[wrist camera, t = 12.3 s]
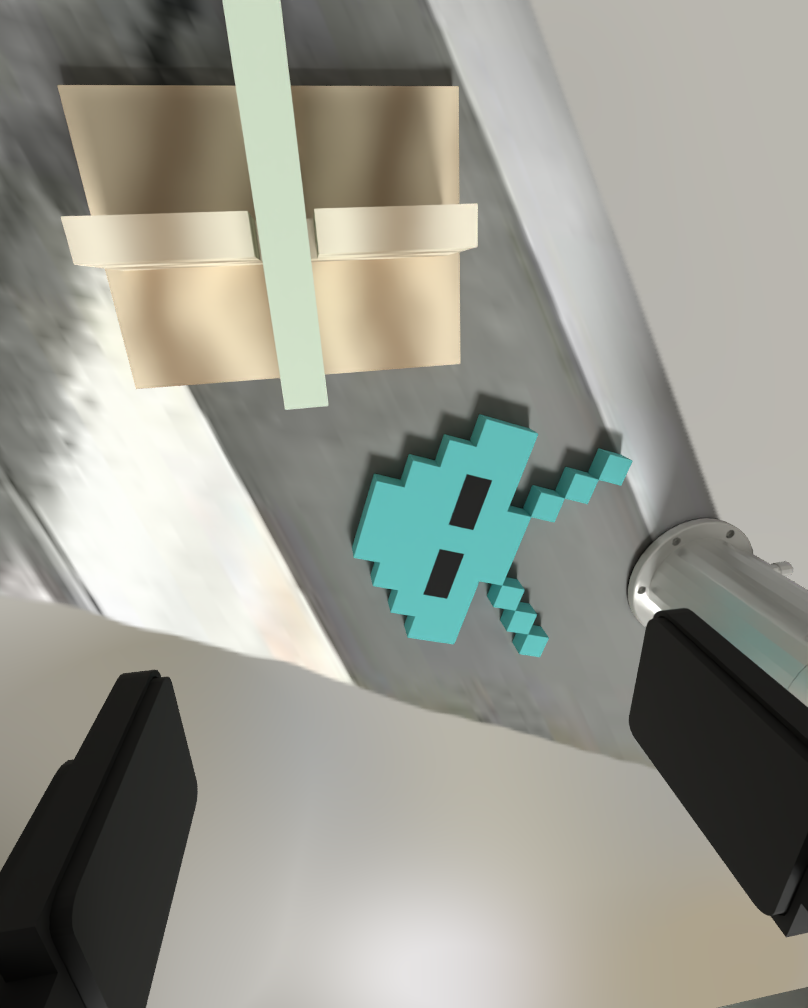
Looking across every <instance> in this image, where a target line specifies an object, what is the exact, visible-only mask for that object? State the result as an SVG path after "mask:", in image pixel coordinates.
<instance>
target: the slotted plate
mask: <svg viewBox="0 0 808 1008" xmlns="http://www.w3.org/2000/svg"><path fill="white" fill-rule="evenodd" d="M223 7H224V13H225V20H226V26H227V33H228V40H229V46H230V53H231V59H232V66H233V72H234V79H235V85H236V92H237V98H238V105H239V111H240V118H241V124H242V131H243V137H244V144H245V150H246V157H247V163H248V170H249V176H250V183H251V190H252V196H253V203H254V209H255V216H256V222H257V229H258V235H259V242H260V248H261V255H262V261H263V268H264V274H265V281H266V287H267V294H268V300H269V307H270V313H271V320H272V326H273V333H274V340H275V346H276V353H277V359H278V366H279V372H280V379H281V385H282V392H283V398H284V405H285V410H289V409H299V408H310V407H321V406H328V398H327V390H326V381H325V373H324V364H323V356H322V348H321V339H320V331H319V322H318V314H317V305H316V297H315V289H314V280H313V272H312V263H311V255H310V246H309V238H308V230H307V221H306V213H305V204H304V196H303V187H302V179H301V171H300V162H299V154H298V145H297V137H296V128H295V120H294V112H293V103H292V95H291V86H290V78H289V69H288V61H287V53H286V44H285V36H284V27H283V19H282V10H281V2H280V0H223Z"/></svg>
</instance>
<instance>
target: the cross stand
mask: <svg viewBox="0 0 808 1008" xmlns="http://www.w3.org/2000/svg"><path fill="white" fill-rule="evenodd" d="M57 86H58V90H59V93H60V97H61V101H62V105H63V109H64V113H65V117H66V120H67V124H68V128H69V132H70V136H71V140H72V144H73V147H74V151H75V155H76V159H77V163H78V167H79V171H80V174H81V178H82V182H83V186H84V190H85V194H86V198H87V201H88V205H89V209H90V213H91V216H64V217H61V219H62V223H63V226H64V230H65V234H66V237H67V241H68V244H69V248H70V251H71V255H72V259H73V262H74V265H82V266H89V267H97V268H105V271H106V275H107V279H108V282H109V286H110V290H111V294H112V298H113V302H114V306H115V309H116V313H117V317H118V321H119V325H120V329H121V333H122V336H123V340H124V344H125V348H126V352H127V356H128V360H129V363H130V367H131V371H132V375H133V379H134V383H135V387H136V389H142V388H155V387H168V386H181V385H194V384H207V383H219V382H232V381H245V380H258V379H271V378H280V372H279V366H278V359H277V353H276V346H275V340H274V333H273V326H272V320H271V313H270V307H269V300H268V294H267V287H266V281H265V274H264V268H263V261H262V255H261V248H260V242H259V235H258V229H257V222H256V216H255V209H254V203H253V196H252V190H251V183H250V176H249V170H248V163H247V157H246V150H245V144H244V137H243V131H242V124H241V118H240V111H239V105H238V98H237V92H236V86H191V85H57ZM291 95H292V103H293V112H294V120H295V128H296V137H297V145H298V154H299V162H300V171H301V179H302V187H303V196H304V204H305V213H306V221H307V230H308V238H309V246H310V255H311V263H312V272H313V280H314V289H315V297H316V305H317V314H318V322H319V331H320V339H321V348H322V356H323V364H324V373H325V374H336V373H348V372H361V371H374V370H387V369H400V368H413V367H426V366H439V365H452V364H460V252H461V251H465V250H468V249H472V248H475V247H477V239H478V204H459V86H291Z"/></svg>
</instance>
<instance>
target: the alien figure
mask: <svg viewBox="0 0 808 1008" xmlns="http://www.w3.org/2000/svg"><path fill="white" fill-rule="evenodd" d="M537 436H538V433H536V432H534V431H533V430H531V429H529V428H526V427H523V426H519V425H516V424H512V423H509V422H505V421H502V420H498V419H495V418H491V417H488V416H484V415H481V414H479V416H478V419H477V422H476V425H475V428H474V430H473V433H472V436H471V439H470V441H468V440H464V439H461V438H457V437H453V436H450V435H446V434H444V435H443V438H442V441H441V444H440V447H439V450H438V453H437V456H436V459H435V460H431V459H427V458H424V457H420V456H416V455H412V454H409V455H408V458H407V461H406V465H405V468H404V471H403V474H402V477H401V480H399V479H395V478H391V477H387V476H382V475H378V474H374V475H373V479H372V482H371V485H370V489H369V492H368V496H367V499H366V502H365V506H364V509H363V512H362V516H361V519H360V522H359V526H358V529H357V533H356V536H355V539H354V543H353V546H352V550H353V556H354V558H358V559H364V560H369V561H374V566H373V569H372V572H371V580H372V584H373V586H376V587H382V588H388V589H392V590H391V593H390V596H389V599H388V604H389V607H390V611H391V613H397V614H403V615H408V616H407V619H406V622H405V624H404V627H405V630H406V633H407V637H408V638H415V639H421V640H428V641H435V642H442V643H448V644H454V643H455V641H456V638H457V636H458V633H459V631H460V628H461V626H462V623H463V621H464V618H465V616H466V613H467V611H468V608H469V606H470V603H471V601H472V598H473V596H474V593H475V591H476V588H477V586H478V583H479V581H481V582H486V583H491V584H492V585H491V587H490V590H489V592H488V595H487V597H488V599H489V600H490V602H491V604H492V605H493V607H497V608H503V609H504V611H503V614H502V616H501V618H500V621H501V622H502V624H503V626H504V627H505V629H506V631H509V632H515V633H516V635H515V637H514V639H513V644H514V646H515V648H516V649H517V651H518V653H519V654H523V655H529V656H536V657H540V656H541V654H542V652H543V649H544V647H545V645H546V643H547V641H548V639H549V637H548V636H547V634H546V633H545V632H544V630H543V629H542V627H541V626H535V625H533V623H534V621H535V618H536V616H537V614H536V612H535V611H534V609H533V608H532V607H531V605H530V604H529V603H523V602H520V600H521V597H522V595H523V593H524V590H525V589H524V588H523V587H522V585H521V584H520V582H519V581H518V580H517V579H513V578H508V577H506V576H507V573H508V571H509V569H510V566H511V564H512V561H513V559H514V557H515V554H516V552H517V550H518V547H519V545H520V542H521V540H522V538H523V535H524V533H525V530H526V528H527V526H528V523H529V521H530V519H531V517H533V518H537V519H542V520H546V521H550V522H555V520H556V517H557V515H558V513H559V511H560V508H561V506H562V504H563V501H564V499H569V500H573V501H577V502H581V503H585V504H588V502H589V500H590V498H591V495H592V493H593V491H594V489H595V487H596V484H597V482H598V480H602V481H605V482H609V483H613V484H617V485H620V486H621V485H622V483H623V480H624V478H625V476H626V474H627V472H628V470H629V468H630V466H631V464H632V460H630V459H628V458H626V457H624V456H622V455H620V454H617V453H613V452H610V451H606V450H603V449H599V448H598V451H597V453H596V455H595V457H594V460H593V462H592V464H591V466H590V469H589V471H588V473H587V472H583V471H580V470H576V469H572V468H568V467H565V469H564V471H563V474H562V476H561V478H560V481H559V483H558V485H557V488H556V490H555V491H554V490H550V489H546V488H542V487H538V486H534V485H532V487H531V490H530V492H529V495H528V497H527V500H526V502H525V504H524V507H523V509H522V508H518V507H514V506H510V503H511V501H512V498H513V496H514V493H515V491H516V488H517V486H518V483H519V481H520V478H521V476H522V473H523V471H524V468H525V466H526V463H527V461H528V458H529V456H530V453H531V451H532V448H533V446H534V443H535V441H536V439H537Z"/></svg>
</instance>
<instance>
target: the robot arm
mask: <svg viewBox="0 0 808 1008" xmlns="http://www.w3.org/2000/svg"><path fill="white" fill-rule="evenodd" d="M792 573H793V567H792V565H791V564H790V563H789V562H785V561H784V562H778V563H773V564H769V563H767V562H765V561H764V560H762V559H760V558H759V557H757V556H755V555H753V549H752V547H751V544H750V542H749V540H748V538H747V537H746V536H745V534H744V533H743V532H742V531H740V530H739V529H738V528H736V527H735V526H733V525H731V524H729V523H727V522H725V521H721V520H718V519H709V518H704V519H696V520H692V521H688V522H685V523H682V524H680V525H678V526H676V527H674V528H672V529H670V530H668V531H667V532H666V533H664V534H663V535H661V536H660V537H658V538H657V539H656V540H655V541H654V542H653V543H652V544H651V545H650V546H649V547H648V548H647V549H646V551H645V552H644V553H643V554H642V556H641V557H640V559H639V560H638V562H637V564H636V565H635V567H634V569H633V572H632V575H631V577H630V581H629V586H628V601H629V605H630V609H631V611H632V613H633V614H634V616H635V617H636V618H637V620H638V621H639V622H640V623H641V624H642V625H643V626H645V627H646V631H645V636H644V642H643V647H642V652H641V657H640V663H639V668H638V673H637V678H636V683H635V689H634V694H633V699H632V704H631V710H630V715H629V726H630V729H631V732H632V734H633V736H634V738H635V739H636V741H637V742H638V743H639V745H640V746H641V748H642V749H643V750H644V752H645V753H646V754H647V756H648V757H649V759H650V760H651V761H652V763H653V764H654V766H655V767H656V768H657V770H658V771H659V773H660V774H661V775H662V777H663V778H664V779H665V781H666V782H667V784H668V785H669V786H670V788H671V789H672V791H673V792H674V793H675V795H676V796H677V797H678V799H679V800H680V802H681V803H682V804H683V806H684V807H685V809H686V810H687V811H688V813H689V814H690V816H691V817H692V818H693V820H694V821H695V823H696V824H697V825H698V827H699V828H700V830H701V831H702V832H703V834H704V835H705V836H706V838H707V839H708V840H709V842H710V843H711V845H712V846H713V847H714V849H715V850H716V852H717V853H718V855H719V856H720V857H721V859H722V860H723V861H724V863H725V864H726V865H727V867H728V868H729V870H730V871H731V872H732V874H733V875H734V877H735V878H736V879H737V881H738V882H739V884H740V885H741V886H742V888H743V889H744V891H745V892H746V893H747V895H748V896H749V898H750V899H751V900H752V902H753V903H754V904H755V906H757V908H758V909H759V910H760V911H761V912H763V913H764V914H766V915H769V916H771V917H772V918H773V920H774V921H775V923H776V924H777V925H778V927H779V928H780V930H781V931H782V932H783V934H784V935H785V936H786V937H789V936H795V935H799V934H803V933H808V590H807V589H805V588H804V587H802V586H800V585H799V584H797V583H795V582H794V581H792V580H790V579H788V578H787V577H785V576H790V575H792ZM196 802H197V780H196V776H195V772H194V769H193V765H192V760H191V756H190V753H189V749H188V745H187V741H186V737H185V733H184V729H183V725H182V721H181V717H180V713H179V709H178V705H177V701H176V697H175V693H174V689H173V685H172V682H171V679H170V678H169V677H161V675H160V673H159V672H158V670H149V671H140V672H132V673H123V674H122V675H120V676H119V678H118V679H117V681H116V683H115V685H114V686H113V688H112V690H111V692H110V694H109V696H108V698H107V699H106V701H105V703H104V705H103V707H102V709H101V710H100V712H99V714H98V716H97V718H96V720H95V722H94V723H93V725H92V727H91V729H90V731H89V733H88V735H87V736H86V738H85V740H84V742H83V744H82V746H81V748H80V749H79V751H78V753H77V755H76V757H75V759H74V760H68V761H67V762H65V763H64V764H63V765H61V767H60V768H59V770H58V771H57V773H56V774H55V775H54V777H53V779H52V781H51V783H50V785H49V786H48V788H47V790H46V791H45V793H44V795H43V797H42V799H41V800H40V802H39V804H38V806H37V807H36V809H35V811H34V813H33V815H32V816H31V818H30V820H29V822H28V824H27V825H26V827H25V829H24V831H23V833H22V834H21V836H20V838H19V839H18V841H17V843H16V845H15V847H14V848H13V850H12V852H11V854H10V855H9V857H8V859H7V861H6V863H5V865H4V866H3V868H2V870H1V872H0V1008H146V1004H147V1000H148V996H149V992H150V988H151V984H152V980H153V976H154V972H155V968H156V964H157V960H158V956H159V952H160V948H161V944H162V940H163V936H164V932H165V928H166V924H167V920H168V916H169V912H170V908H171V903H172V900H173V895H174V891H175V887H176V883H177V879H178V875H179V871H180V867H181V863H182V859H183V855H184V851H185V847H186V843H187V839H188V834H189V831H190V826H191V823H192V819H193V814H194V811H195V806H196ZM718 1008H808V987H806V988H802V989H797V990H793V991H789V992H784V993H779V994H775V995H771V996H766V997H762V998H758V999H754V1000H749V1001H744V1002H740V1003H736V1004H731V1005H727V1006H723V1007H718Z"/></svg>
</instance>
